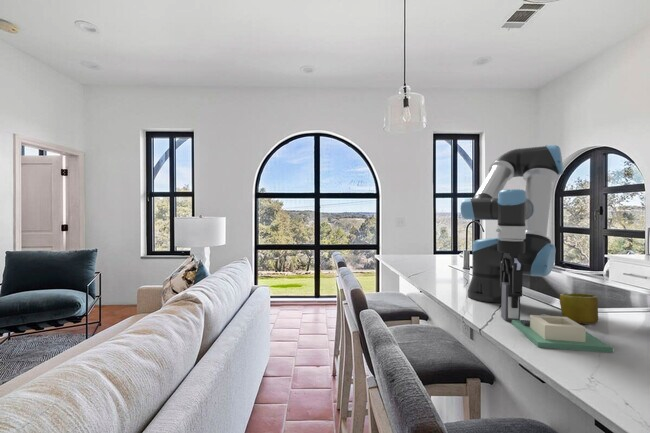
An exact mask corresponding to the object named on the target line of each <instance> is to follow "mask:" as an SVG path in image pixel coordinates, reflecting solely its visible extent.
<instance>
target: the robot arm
mask: <svg viewBox="0 0 650 433" xmlns="http://www.w3.org/2000/svg"><path fill="white" fill-rule="evenodd" d="M563 165H564V162H563V157H562V151H561V148H560V147H559V146H558V145H557V144H552V145H550V144H549V145H547V144H546V145H543V146H535V147H534V146H533V147H523V148H515V149H512V150H509V151H507V152H505V153H503V154H501V155H500V156H498V157H497V158H496V159H494V161H493V162H492V163H491V164H490V165H489V169H488V174H487V176H486V177H485V179H484V180H483V182H482V184H481V185H480V187H478V190H477V191H476V192H475V195H474V196H473V198H470V197H469V198H464V199H463V200H462V201H461V205H460V214H461V217H462V219H465V220H473V221H476V220H478V221H479V220H480V221H484V220H485V221H487V220H488V221H497V228H496V229H495V232H496V233H497V237H493V238H483V239H476V240H474V241H473V242H472V250H471V252H472V268H471V269H472V278H471V280H470V282H469V284H468V288H467V293H466V294H467V298H470V299H472V300H475V301H479V302H480V301H481V302H486V303H500V304H501V302H502V282H509V293H510V294H509V295H507V297H508V318H514V319H519V297H520V298H521V297H523V278H524V277H523V276H531V277H548V276H549V275H550V274H551V273H552V271H553V268H554V264H555V261H556V252H557V251H556V246H555V244H553V243H552V241H551V238H549V237H548V236H547V234H548V227H549V225H548V224H549V218H550V217H549V216H550V207H551V196H552V189H553V188H552V186H553V183H554V182H556V181H557V179H558V176H560V175H563V174H564V166H563ZM517 177H520V178H521V177H523V180H524V181H526V182H525V183H526V184H525V190H524V189H520V188H519V189H517V188H516V189H515V188H514V189H504V188H505V186H506V185H507V183H508V181H510V180H511V179H513V178H517Z"/></svg>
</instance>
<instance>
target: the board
mask: <svg viewBox="0 0 650 433" xmlns="http://www.w3.org/2000/svg"><path fill="white" fill-rule="evenodd" d="M511 325H513V326H514V327H515V328H516V329H517V330H518V331H519V332H520V333H522V335H524V336H525V337H526V338H527V339H528V340H529V341H530V342H532V343H533V344H534V345H535V346H536V347H537V348H542V349H543V348H545V349H556V350H557V349H559V350H571V351H585V352H597V353H610V354H611V353H612V354H613V353H614V347H613V346H611V345H610V344H608V343H606V342H604V340H601V339H600V338H598V337H596V336H594V335H592V334H591V333H589V332H588V331H587V330H586V327H585V326H583V325H582V324H581V323H576V322H575V321H573V320H571V319H569V318H568V317H563V316H557V315H552V314H551V315H550V314H544V313H543V314H540V315H538V314H530V316H529V319H527V320H526V319H520V320H512V321H511Z"/></svg>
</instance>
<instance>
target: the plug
mask: <svg viewBox="0 0 650 433" xmlns="http://www.w3.org/2000/svg"><path fill="white" fill-rule="evenodd" d="M509 294H510V293H509V282H502V302H501V303H500V305H501V308H500V309H501V310H500V314H501V315H500V317H501V318H502V319H503V321H505V322H512V320H521V296H520V297H519V319H514V318H508V297H507V295H509Z"/></svg>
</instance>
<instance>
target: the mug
mask: <svg viewBox="0 0 650 433" xmlns="http://www.w3.org/2000/svg"><path fill="white" fill-rule="evenodd" d="M558 297H559V304H560V309H561V317H568V318H569V319H571V320H573V321H575V322H576V323H578V324H580V325H582V324H583V325H591V324H597V323H599V298H598V296H597V295H594V294H589V293H583V292H582V293H578V292H574V293H573V292H572V293H567V292H563V293H560V294H559V296H558Z"/></svg>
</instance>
